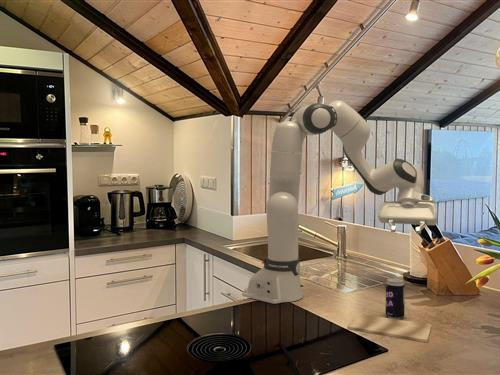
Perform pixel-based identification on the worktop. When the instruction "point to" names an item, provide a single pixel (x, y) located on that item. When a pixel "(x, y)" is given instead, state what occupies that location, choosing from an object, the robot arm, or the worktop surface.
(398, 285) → the beverage can
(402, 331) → the folded beige cloth
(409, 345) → the worktop surface
